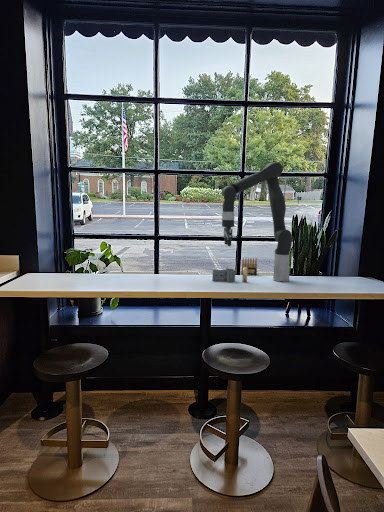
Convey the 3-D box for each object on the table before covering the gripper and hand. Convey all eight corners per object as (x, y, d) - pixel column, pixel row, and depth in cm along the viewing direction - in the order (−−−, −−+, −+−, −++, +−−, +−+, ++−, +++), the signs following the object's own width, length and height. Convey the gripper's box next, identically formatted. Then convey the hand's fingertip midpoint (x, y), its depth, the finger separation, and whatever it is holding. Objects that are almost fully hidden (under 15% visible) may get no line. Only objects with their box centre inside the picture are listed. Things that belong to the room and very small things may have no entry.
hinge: (230, 277, 232) (231, 266, 231) (236, 281, 218) (236, 270, 217) (209, 277, 231) (210, 266, 230) (213, 281, 217) (213, 270, 216)
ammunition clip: (256, 274, 243) (257, 257, 241) (256, 275, 241) (257, 258, 239) (241, 274, 243) (241, 257, 241) (241, 274, 241) (242, 257, 239)
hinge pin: (246, 281, 221) (246, 267, 220) (247, 282, 218) (248, 268, 217) (241, 281, 221) (242, 267, 219) (242, 282, 218) (243, 268, 216)
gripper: (236, 219, 208) (236, 246, 210) (231, 218, 222) (231, 243, 224) (224, 219, 207) (224, 246, 209) (220, 218, 221) (219, 243, 223)
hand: (227, 245), depth 217 cm, fingers open, 8 cm apart
